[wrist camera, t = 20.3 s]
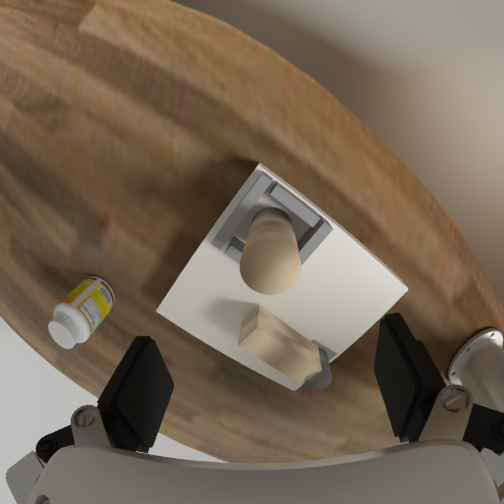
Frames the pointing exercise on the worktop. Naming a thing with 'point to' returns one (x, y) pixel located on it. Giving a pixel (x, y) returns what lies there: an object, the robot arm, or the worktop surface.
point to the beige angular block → (284, 349)
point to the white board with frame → (293, 300)
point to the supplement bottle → (81, 312)
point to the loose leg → (270, 253)
